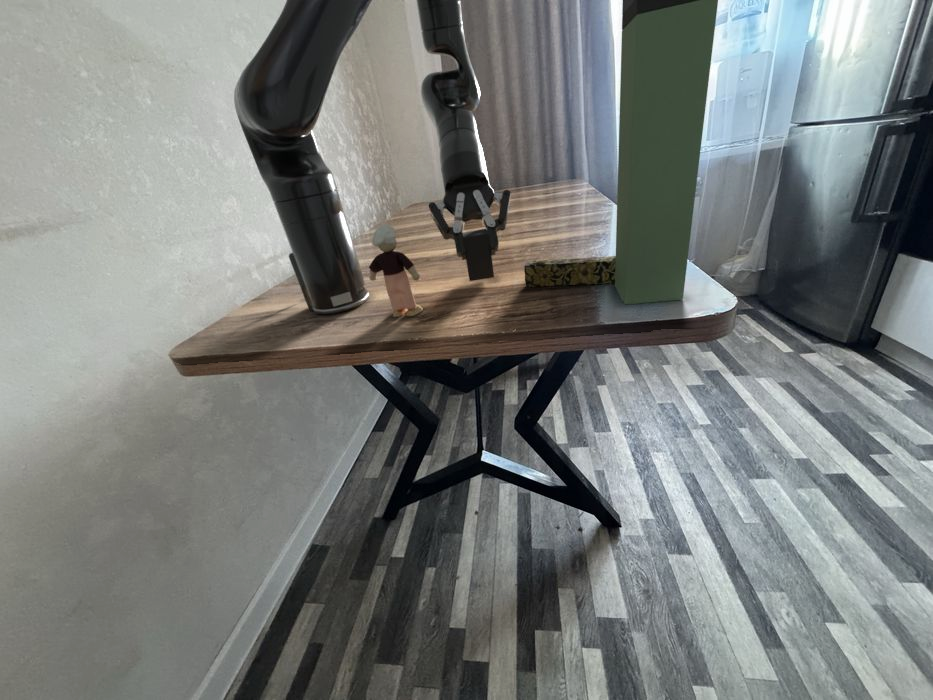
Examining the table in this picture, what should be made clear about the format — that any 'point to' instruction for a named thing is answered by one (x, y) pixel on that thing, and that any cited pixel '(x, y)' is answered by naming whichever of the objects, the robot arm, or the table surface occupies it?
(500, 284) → the table surface
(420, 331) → the table surface
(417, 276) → the grandmother figurine
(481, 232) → the dark gray rectangular block
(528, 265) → the decorative block
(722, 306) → the table surface
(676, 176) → the tall green rectangular column
